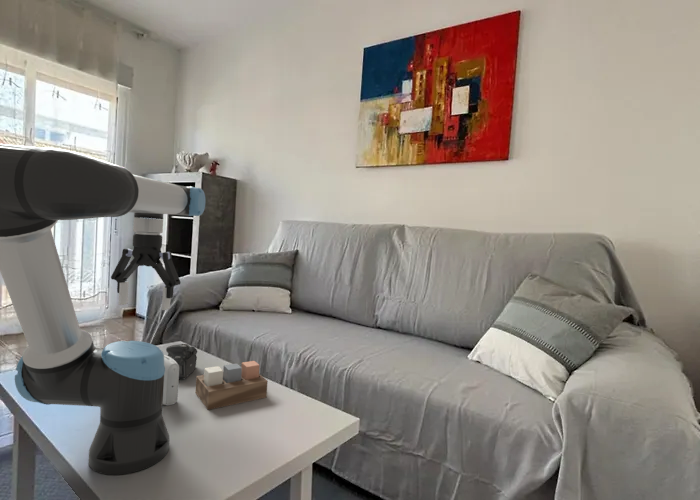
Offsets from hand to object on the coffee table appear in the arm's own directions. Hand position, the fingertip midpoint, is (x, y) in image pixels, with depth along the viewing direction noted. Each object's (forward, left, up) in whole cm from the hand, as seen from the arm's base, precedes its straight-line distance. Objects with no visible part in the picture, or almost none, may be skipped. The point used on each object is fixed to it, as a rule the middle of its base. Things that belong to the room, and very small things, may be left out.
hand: (144, 307), depth 115 cm
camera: (+7, -13, -25) cm, 29 cm away
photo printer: (-9, -4, -25) cm, 27 cm away
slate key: (-15, -21, -21) cm, 34 cm away
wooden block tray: (-16, -21, -24) cm, 36 cm away
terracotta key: (-15, -27, -21) cm, 37 cm away
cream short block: (-15, -16, -21) cm, 30 cm away
